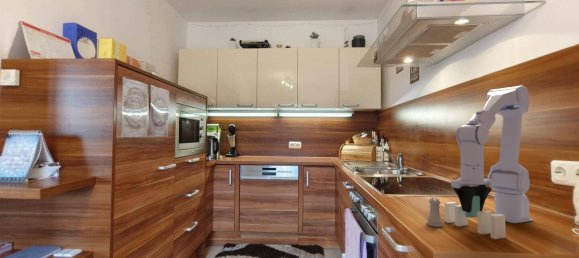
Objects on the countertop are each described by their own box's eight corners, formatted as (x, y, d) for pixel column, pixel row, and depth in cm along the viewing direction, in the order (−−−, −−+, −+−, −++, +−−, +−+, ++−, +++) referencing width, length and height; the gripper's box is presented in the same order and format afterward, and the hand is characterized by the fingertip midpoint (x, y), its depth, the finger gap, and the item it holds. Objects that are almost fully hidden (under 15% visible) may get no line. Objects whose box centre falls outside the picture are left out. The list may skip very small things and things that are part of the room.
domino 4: (487, 231, 76) (487, 210, 76) (491, 232, 75) (491, 211, 75) (477, 233, 75) (477, 211, 75) (481, 234, 73) (481, 212, 74)
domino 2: (464, 223, 82) (464, 204, 83) (467, 225, 81) (467, 205, 82) (454, 225, 81) (454, 205, 81) (458, 226, 80) (458, 206, 80)
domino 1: (453, 220, 86) (453, 201, 86) (457, 221, 85) (457, 202, 85) (444, 221, 84) (444, 202, 85) (448, 222, 83) (448, 203, 83)
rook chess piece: (445, 228, 78) (445, 201, 79) (429, 226, 79) (429, 200, 79) (440, 223, 83) (439, 197, 83) (424, 222, 84) (424, 196, 84)
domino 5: (500, 235, 73) (500, 213, 73) (505, 237, 71) (505, 215, 72) (490, 237, 71) (490, 215, 71) (495, 239, 70) (495, 216, 70)
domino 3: (476, 215, 79) (476, 195, 79) (480, 216, 78) (479, 196, 78) (465, 216, 78) (465, 196, 78) (469, 217, 77) (468, 197, 77)
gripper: (475, 163, 85) (476, 205, 84) (441, 164, 80) (442, 209, 79) (499, 165, 78) (500, 211, 78) (464, 166, 73) (464, 216, 73)
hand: (472, 211), depth 78 cm, fingers closed on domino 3, 4 cm apart
